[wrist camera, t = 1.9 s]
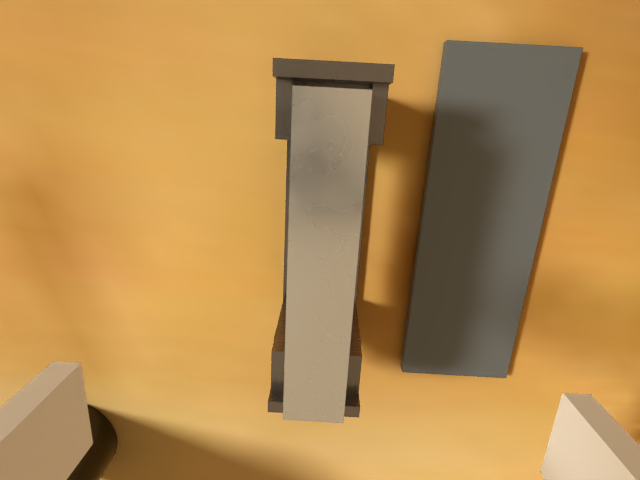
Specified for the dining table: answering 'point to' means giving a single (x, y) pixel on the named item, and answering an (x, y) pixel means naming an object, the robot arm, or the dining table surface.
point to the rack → (286, 76)
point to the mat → (484, 202)
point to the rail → (323, 246)
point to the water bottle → (97, 448)
